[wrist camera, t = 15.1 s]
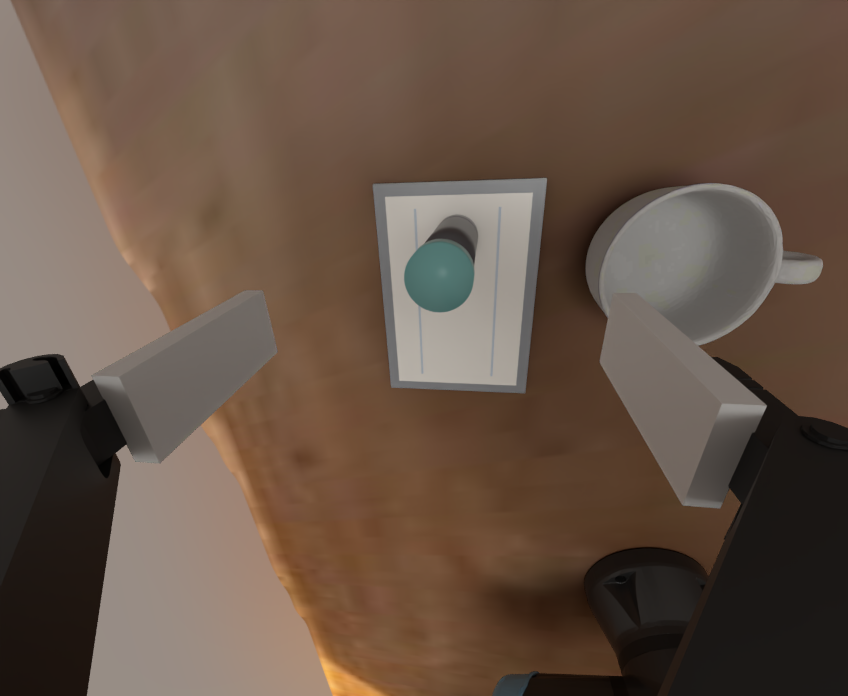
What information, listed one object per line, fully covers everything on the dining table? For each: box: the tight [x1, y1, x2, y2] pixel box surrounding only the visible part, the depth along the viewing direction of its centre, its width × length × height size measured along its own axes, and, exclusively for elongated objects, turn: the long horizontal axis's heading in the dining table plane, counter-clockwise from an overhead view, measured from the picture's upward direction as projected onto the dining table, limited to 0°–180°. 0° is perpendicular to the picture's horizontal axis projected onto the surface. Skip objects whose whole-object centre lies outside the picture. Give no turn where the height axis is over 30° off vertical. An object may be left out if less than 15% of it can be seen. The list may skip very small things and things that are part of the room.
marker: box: [404, 214, 478, 312], centre depth 26 cm, size 4×4×13 cm
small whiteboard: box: [373, 178, 547, 393], centre depth 35 cm, size 20×14×1 cm
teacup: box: [586, 183, 823, 346], centre depth 27 cm, size 14×11×8 cm
